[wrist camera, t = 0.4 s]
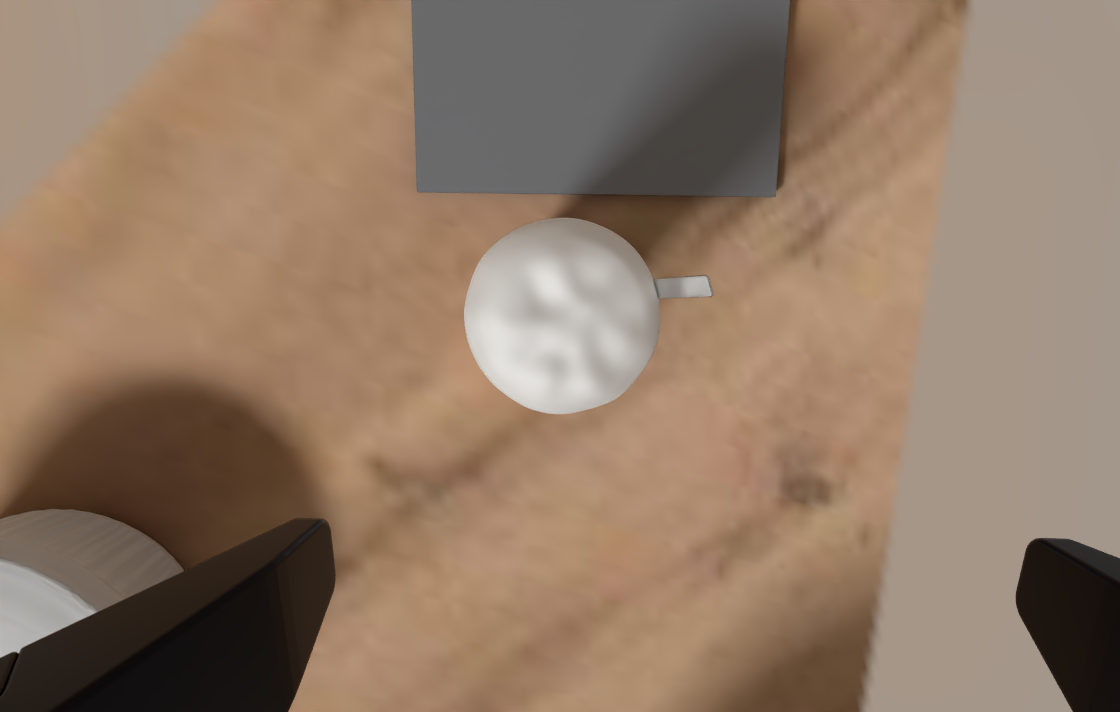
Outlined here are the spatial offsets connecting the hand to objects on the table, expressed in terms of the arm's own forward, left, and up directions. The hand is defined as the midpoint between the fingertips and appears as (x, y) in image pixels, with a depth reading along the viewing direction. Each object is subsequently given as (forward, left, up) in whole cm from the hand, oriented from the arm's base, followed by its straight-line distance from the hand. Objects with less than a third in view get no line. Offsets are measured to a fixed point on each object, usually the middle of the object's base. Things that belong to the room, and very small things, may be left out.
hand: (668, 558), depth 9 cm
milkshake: (+2, +1, -16) cm, 16 cm away
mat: (+11, 0, -16) cm, 19 cm away
